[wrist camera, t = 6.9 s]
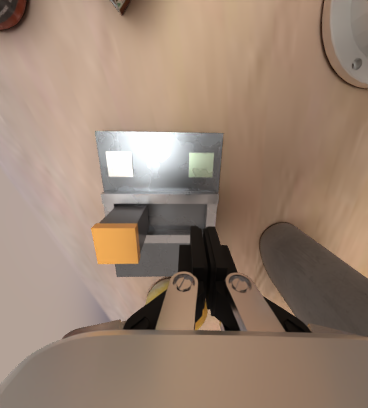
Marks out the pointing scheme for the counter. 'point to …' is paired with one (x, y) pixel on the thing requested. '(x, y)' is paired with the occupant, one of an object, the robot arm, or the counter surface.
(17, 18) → the supplement bottle
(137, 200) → the panel
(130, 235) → the lever
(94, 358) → the robot arm
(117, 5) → the food container
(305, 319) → the flask
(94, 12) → the counter surface
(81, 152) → the counter surface
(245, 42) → the counter surface
